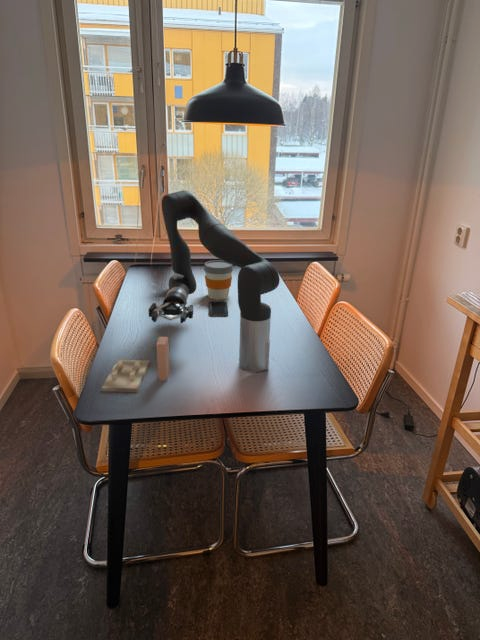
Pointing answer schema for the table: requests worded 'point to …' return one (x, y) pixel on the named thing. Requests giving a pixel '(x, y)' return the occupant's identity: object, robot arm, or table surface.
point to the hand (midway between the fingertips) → (167, 320)
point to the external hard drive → (170, 316)
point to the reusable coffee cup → (218, 278)
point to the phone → (218, 309)
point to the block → (163, 358)
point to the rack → (126, 376)
